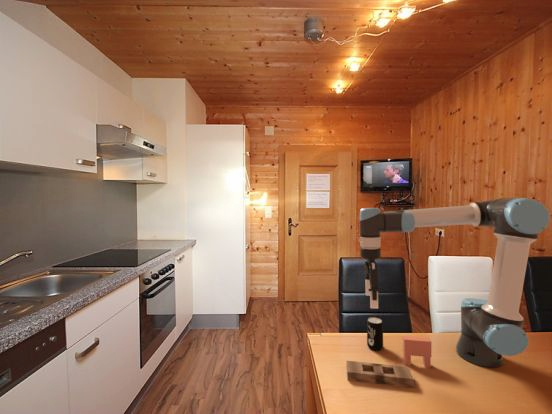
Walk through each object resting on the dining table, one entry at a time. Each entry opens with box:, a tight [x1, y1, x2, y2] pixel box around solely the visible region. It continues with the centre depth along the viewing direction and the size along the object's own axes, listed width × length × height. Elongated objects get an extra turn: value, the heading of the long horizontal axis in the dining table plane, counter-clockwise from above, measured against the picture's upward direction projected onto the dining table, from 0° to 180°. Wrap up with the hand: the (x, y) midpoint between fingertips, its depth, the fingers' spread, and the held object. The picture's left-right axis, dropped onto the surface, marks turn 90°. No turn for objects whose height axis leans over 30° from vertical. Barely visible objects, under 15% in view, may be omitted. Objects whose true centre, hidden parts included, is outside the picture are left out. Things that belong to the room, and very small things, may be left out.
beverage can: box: [366, 316, 384, 352], centre depth 118 cm, size 7×7×12 cm
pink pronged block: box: [402, 336, 432, 368], centre depth 106 cm, size 10×3×10 cm, turn 78°
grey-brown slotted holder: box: [346, 360, 415, 388], centre depth 98 cm, size 22×7×3 cm, turn 78°
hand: (371, 301), depth 106 cm, fingers open, 13 cm apart
